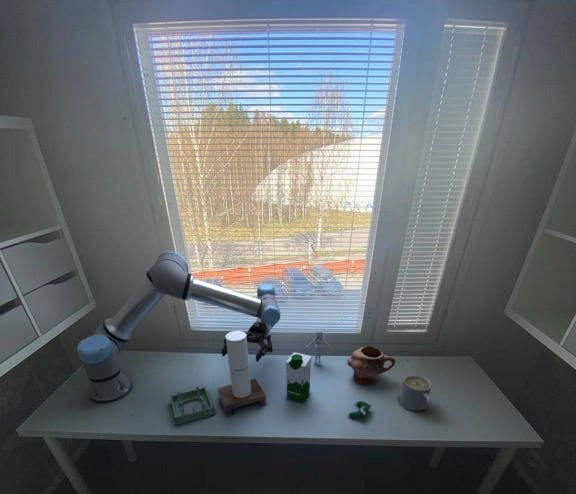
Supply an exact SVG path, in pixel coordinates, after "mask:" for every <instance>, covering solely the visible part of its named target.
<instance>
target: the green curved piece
mask: <svg viewBox="0 0 576 494" xmlns="http://www.w3.org/2000/svg"><path fill="white" fill-rule="evenodd" d="M355 404H356V406H357V407H358V408H359V409H358V410H357V411H351V412H349V413H348V417H349V418H353V419H362V418H364V417H365V416H366V415H367V413H368V412H369V410H370V409H371V407H372V404H371V402H369V401H362V400H359V401H357V402H356V403H355Z"/></svg>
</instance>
